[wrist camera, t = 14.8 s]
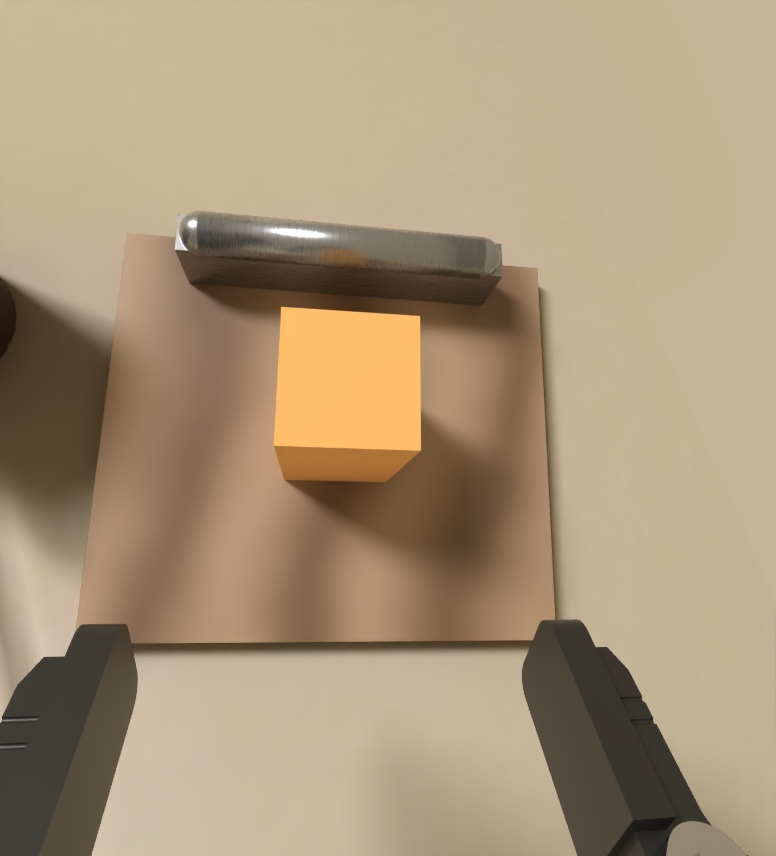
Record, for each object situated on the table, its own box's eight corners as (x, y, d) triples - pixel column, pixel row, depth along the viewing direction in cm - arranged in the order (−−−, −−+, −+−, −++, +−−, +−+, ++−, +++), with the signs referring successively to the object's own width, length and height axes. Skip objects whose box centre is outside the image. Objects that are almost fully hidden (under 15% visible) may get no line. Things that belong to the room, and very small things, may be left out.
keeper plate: (85, 639, 23) (25, 662, 18) (134, 246, 27) (96, 178, 22) (545, 636, 26) (601, 655, 21) (528, 279, 30) (572, 225, 25)
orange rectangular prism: (284, 479, 24) (273, 445, 17) (289, 381, 25) (281, 306, 18) (385, 482, 25) (421, 450, 17) (386, 386, 26) (419, 316, 18)
